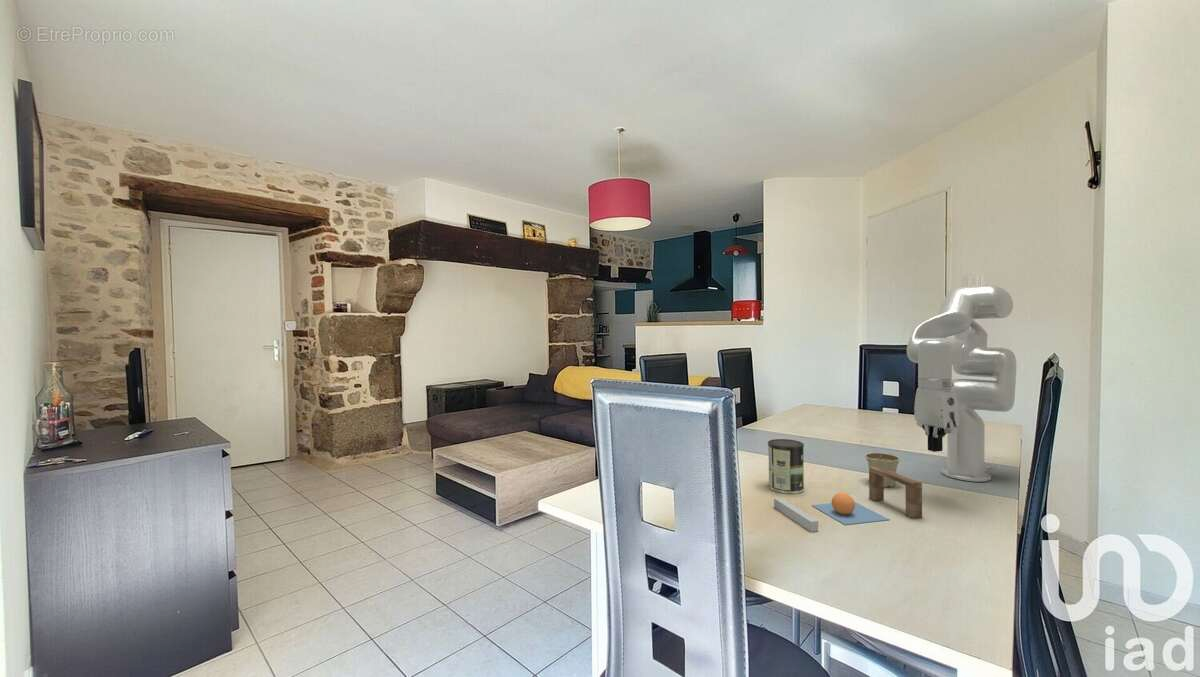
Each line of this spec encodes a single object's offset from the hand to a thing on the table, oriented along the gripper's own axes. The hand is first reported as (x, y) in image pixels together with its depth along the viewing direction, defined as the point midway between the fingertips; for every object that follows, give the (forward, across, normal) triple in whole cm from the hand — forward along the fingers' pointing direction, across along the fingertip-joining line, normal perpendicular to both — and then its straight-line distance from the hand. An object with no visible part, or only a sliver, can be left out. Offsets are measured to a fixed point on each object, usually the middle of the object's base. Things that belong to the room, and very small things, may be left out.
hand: (935, 450), depth 129 cm
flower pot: (+15, +17, +2) cm, 23 cm away
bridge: (+14, 0, +14) cm, 20 cm away
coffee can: (+15, +21, +33) cm, 41 cm away
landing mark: (+14, 0, +28) cm, 31 cm away
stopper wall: (+14, 0, +44) cm, 46 cm away
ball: (+12, -1, +30) cm, 32 cm away
